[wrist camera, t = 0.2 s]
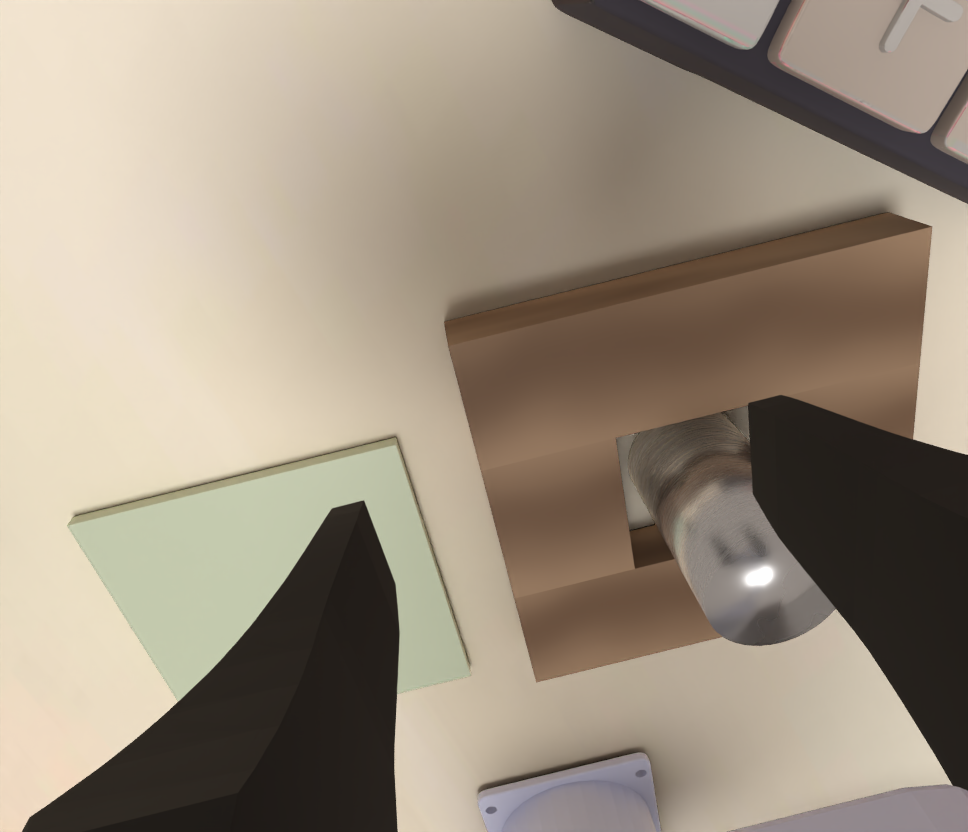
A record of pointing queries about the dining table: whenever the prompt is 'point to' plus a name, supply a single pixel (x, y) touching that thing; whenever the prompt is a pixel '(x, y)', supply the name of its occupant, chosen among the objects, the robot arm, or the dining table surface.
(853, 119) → the calculator
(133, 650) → the dining table surface
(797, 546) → the robot arm
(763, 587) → the metal peg
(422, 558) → the sage pad
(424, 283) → the dining table surface
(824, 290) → the walnut holder
